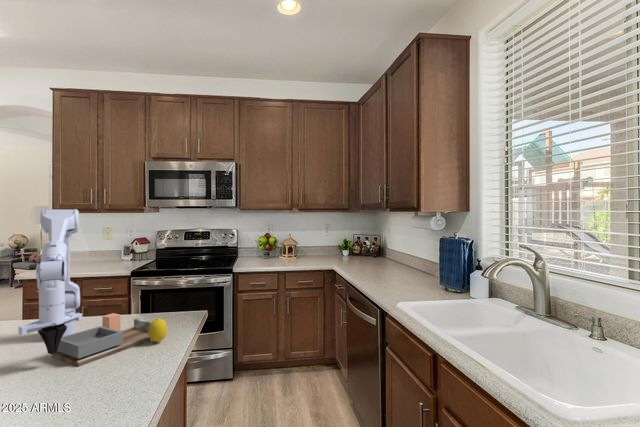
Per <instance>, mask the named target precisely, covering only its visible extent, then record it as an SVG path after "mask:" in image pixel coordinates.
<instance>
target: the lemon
mask: <svg viewBox="0 0 640 427" xmlns="http://www.w3.org/2000/svg"><path fill="white" fill-rule="evenodd" d="M151 322H152V323H151V324H150V327H149V337H150V338H151V340H150V341H153V342H155V343H157V344H158V343H160V342H161V341H163V340H164V339H165V337H166V336H167V334H168V326H167V325H168V324H167V322H166V321H165V320H164V319H162V318H159V317H158V318H156V319H153V321H151Z"/></svg>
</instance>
